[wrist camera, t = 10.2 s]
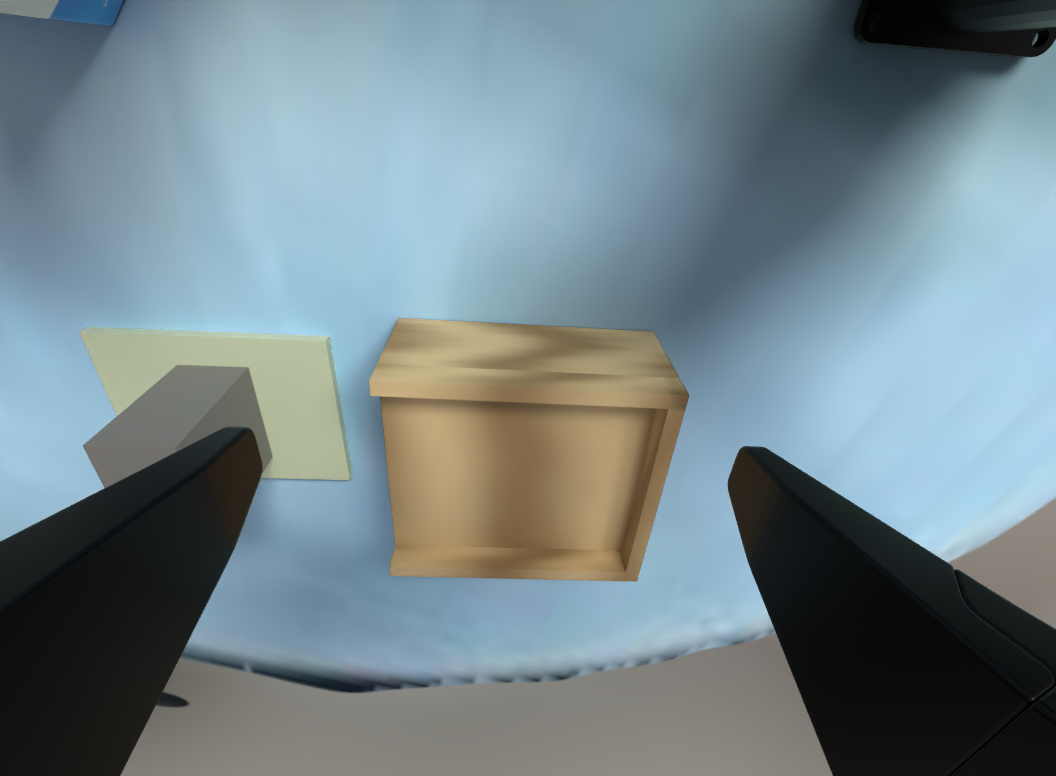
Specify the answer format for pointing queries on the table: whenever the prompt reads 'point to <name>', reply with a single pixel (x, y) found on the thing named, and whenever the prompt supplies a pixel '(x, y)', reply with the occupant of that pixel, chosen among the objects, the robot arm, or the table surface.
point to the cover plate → (275, 376)
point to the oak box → (525, 448)
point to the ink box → (65, 10)
